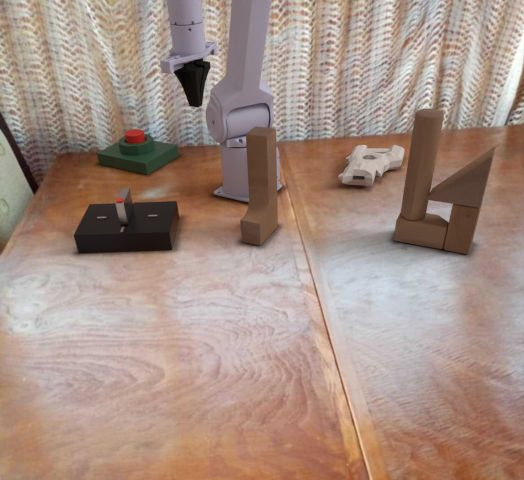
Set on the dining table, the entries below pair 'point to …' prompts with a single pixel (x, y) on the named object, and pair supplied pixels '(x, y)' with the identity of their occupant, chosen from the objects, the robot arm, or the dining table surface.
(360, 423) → the dining table surface
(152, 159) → the box
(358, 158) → the gun
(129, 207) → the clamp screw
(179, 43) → the robot arm
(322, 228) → the dining table surface
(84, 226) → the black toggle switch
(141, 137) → the release button
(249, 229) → the wooden block
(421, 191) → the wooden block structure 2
